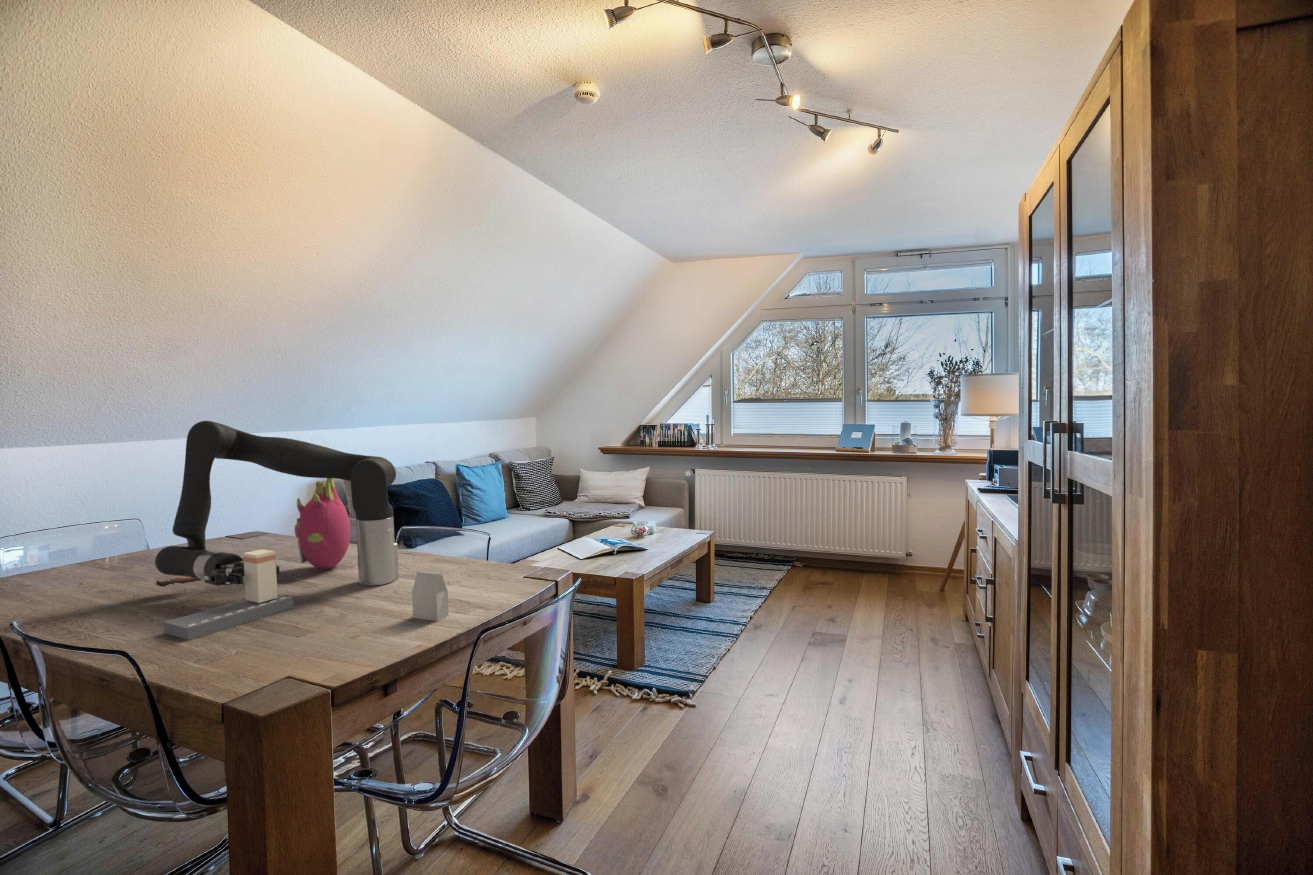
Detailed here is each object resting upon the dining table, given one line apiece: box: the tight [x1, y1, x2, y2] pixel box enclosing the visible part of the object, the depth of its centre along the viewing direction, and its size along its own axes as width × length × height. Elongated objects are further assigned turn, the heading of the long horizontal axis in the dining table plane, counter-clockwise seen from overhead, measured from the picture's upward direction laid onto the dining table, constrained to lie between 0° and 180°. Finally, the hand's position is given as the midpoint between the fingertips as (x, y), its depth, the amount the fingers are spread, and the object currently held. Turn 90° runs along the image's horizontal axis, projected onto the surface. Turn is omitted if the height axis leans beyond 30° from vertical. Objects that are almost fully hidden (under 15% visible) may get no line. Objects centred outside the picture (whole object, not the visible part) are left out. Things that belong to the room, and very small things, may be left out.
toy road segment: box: [163, 594, 294, 641], centre depth 152 cm, size 23×9×3 cm, turn 152°
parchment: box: [156, 577, 201, 587], centre depth 192 cm, size 25×10×1 cm, turn 145°
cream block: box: [242, 548, 279, 603], centre depth 158 cm, size 4×5×11 cm
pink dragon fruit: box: [294, 478, 352, 570], centre depth 195 cm, size 18×14×30 cm
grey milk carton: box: [411, 571, 449, 622], centre depth 152 cm, size 4×7×10 cm, turn 68°
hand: (260, 575), depth 158 cm, fingers open, 8 cm apart
